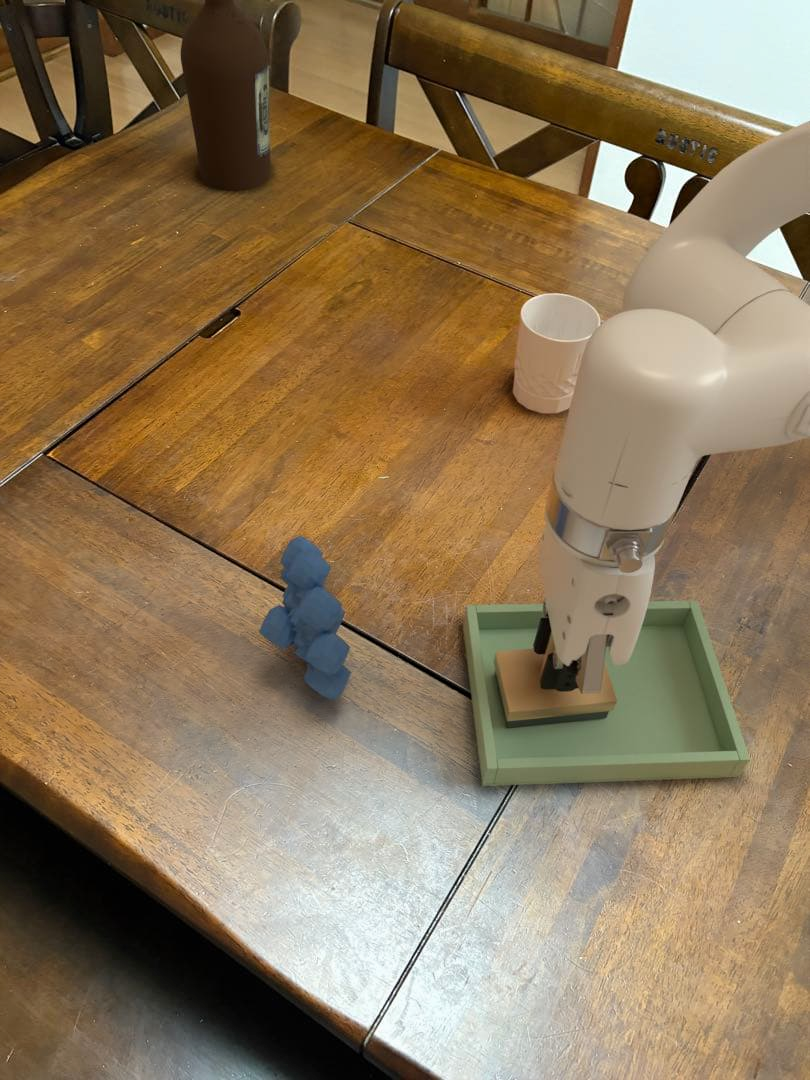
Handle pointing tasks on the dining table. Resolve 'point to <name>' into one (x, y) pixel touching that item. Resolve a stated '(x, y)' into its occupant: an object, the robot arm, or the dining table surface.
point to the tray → (635, 723)
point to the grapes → (310, 619)
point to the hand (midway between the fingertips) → (557, 666)
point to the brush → (544, 692)
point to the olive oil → (228, 96)
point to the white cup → (551, 350)
